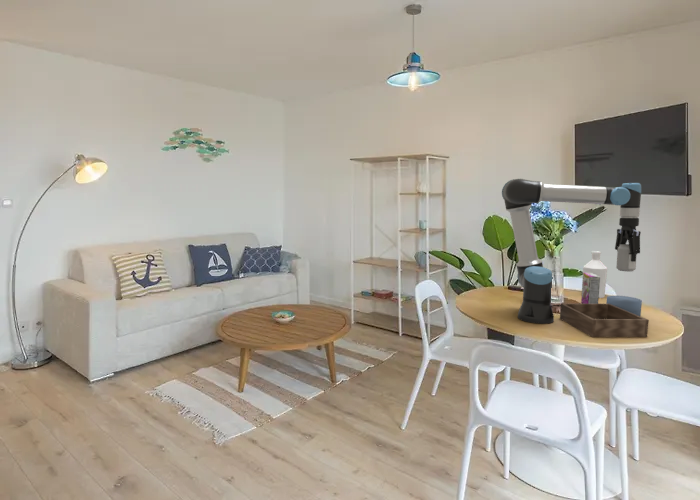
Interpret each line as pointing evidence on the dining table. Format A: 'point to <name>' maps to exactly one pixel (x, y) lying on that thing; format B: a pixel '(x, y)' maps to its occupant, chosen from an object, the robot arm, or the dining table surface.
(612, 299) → the stand
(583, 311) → the crate
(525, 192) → the robot arm
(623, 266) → the can
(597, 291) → the candy bar box
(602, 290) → the bottle
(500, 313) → the dining table surface
